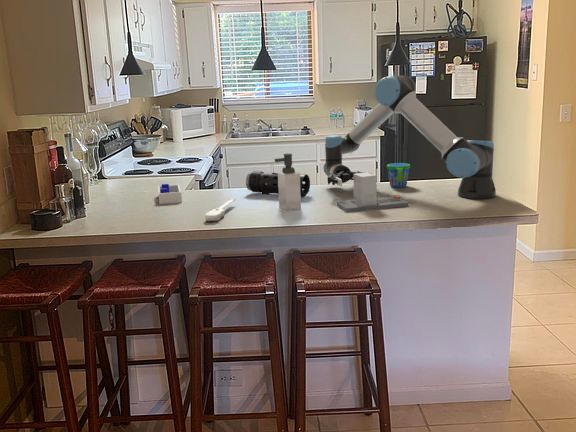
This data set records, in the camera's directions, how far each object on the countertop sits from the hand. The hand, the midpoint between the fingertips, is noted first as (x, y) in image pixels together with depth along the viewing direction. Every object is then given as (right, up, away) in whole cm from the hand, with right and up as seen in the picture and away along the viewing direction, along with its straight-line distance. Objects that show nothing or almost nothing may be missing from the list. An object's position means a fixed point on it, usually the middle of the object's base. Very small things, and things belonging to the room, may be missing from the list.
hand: (356, 181), depth 236 cm
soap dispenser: (-29, -11, -5) cm, 31 cm away
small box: (+3, -10, -6) cm, 12 cm away
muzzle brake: (-33, -5, +21) cm, 39 cm away
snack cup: (+23, -1, +29) cm, 37 cm away
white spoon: (-54, -13, -9) cm, 56 cm away
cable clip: (-82, -7, +21) cm, 85 cm away
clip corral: (-81, -6, +21) cm, 84 cm away
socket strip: (+5, -10, -6) cm, 13 cm away
